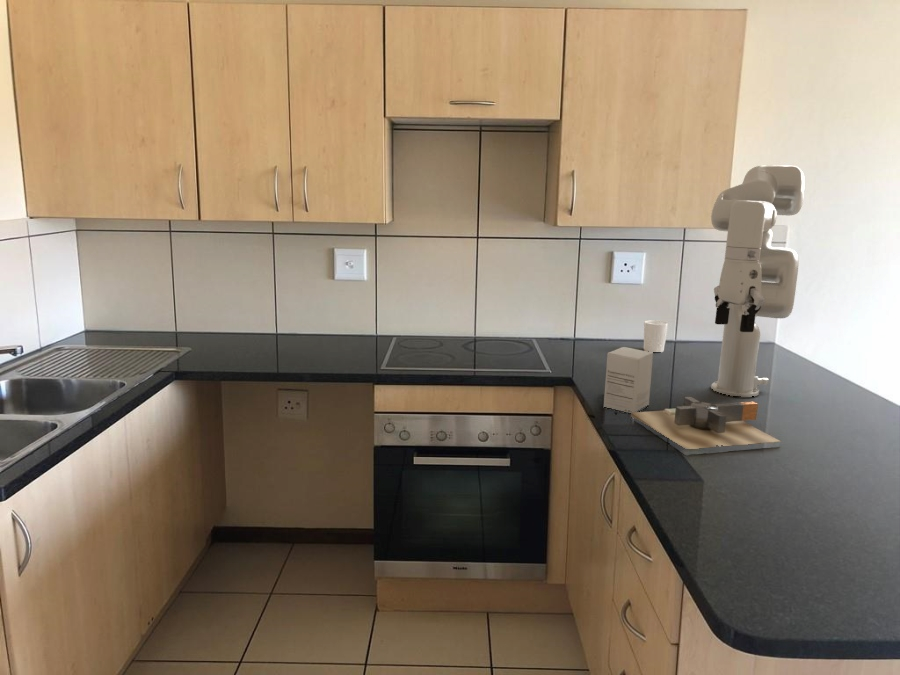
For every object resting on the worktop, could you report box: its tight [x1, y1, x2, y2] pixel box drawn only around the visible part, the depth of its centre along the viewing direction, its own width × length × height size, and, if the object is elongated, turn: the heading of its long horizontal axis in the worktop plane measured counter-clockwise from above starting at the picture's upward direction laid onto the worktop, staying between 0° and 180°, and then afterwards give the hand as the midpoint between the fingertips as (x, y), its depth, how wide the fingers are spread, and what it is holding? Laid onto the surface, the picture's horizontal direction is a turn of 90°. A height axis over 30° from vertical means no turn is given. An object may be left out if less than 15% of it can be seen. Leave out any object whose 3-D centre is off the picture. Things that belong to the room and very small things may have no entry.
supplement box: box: [603, 346, 654, 413], centre depth 179 cm, size 9×9×15 cm
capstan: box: [674, 396, 759, 433], centre depth 164 cm, size 21×14×5 cm, turn 105°
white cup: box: [643, 319, 669, 353], centre depth 240 cm, size 8×8×10 cm
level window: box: [664, 407, 676, 415], centre depth 173 cm, size 6×3×1 cm, turn 105°
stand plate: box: [630, 409, 782, 449], centre depth 164 cm, size 24×24×2 cm
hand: (733, 327), depth 163 cm, fingers open, 9 cm apart
